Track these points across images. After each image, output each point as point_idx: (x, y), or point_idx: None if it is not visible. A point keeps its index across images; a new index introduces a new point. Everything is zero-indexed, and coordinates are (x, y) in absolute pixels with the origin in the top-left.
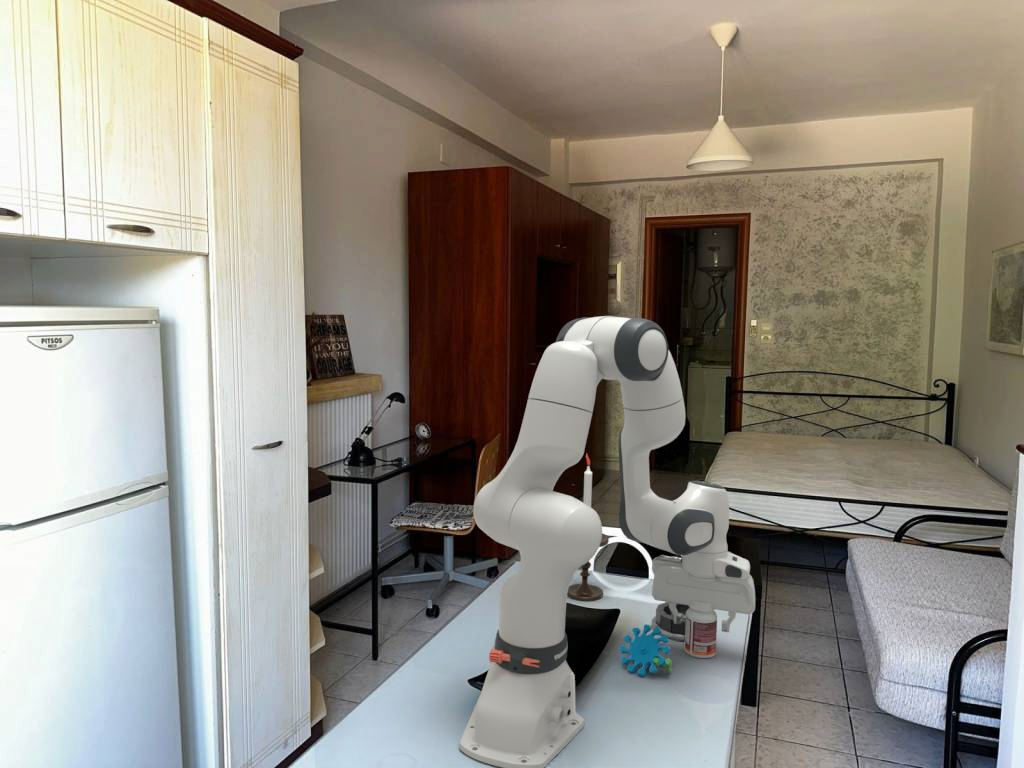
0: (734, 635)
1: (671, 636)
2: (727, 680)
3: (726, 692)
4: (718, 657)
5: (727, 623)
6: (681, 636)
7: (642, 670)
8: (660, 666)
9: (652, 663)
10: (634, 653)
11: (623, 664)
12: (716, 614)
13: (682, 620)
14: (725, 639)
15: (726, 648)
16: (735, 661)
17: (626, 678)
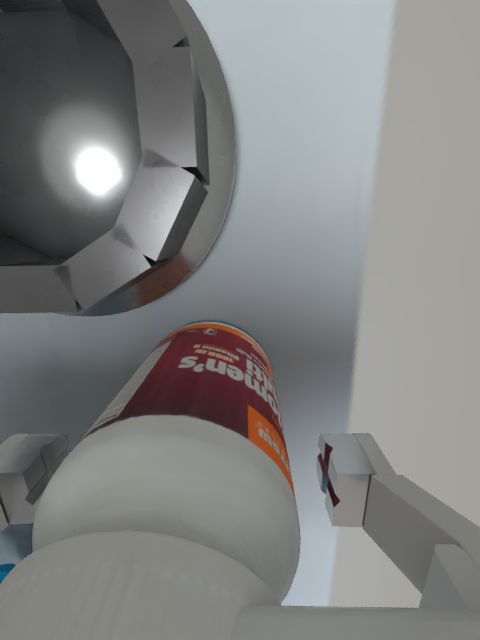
0: (352, 106)
1: (65, 312)
2: (319, 521)
3: (317, 575)
4: (283, 388)
5: (374, 531)
6: (106, 309)
7: None
8: None
9: None
10: None
11: (12, 564)
12: (297, 550)
13: (53, 297)
14: (305, 189)
15: (312, 293)
16: (348, 394)
17: None
